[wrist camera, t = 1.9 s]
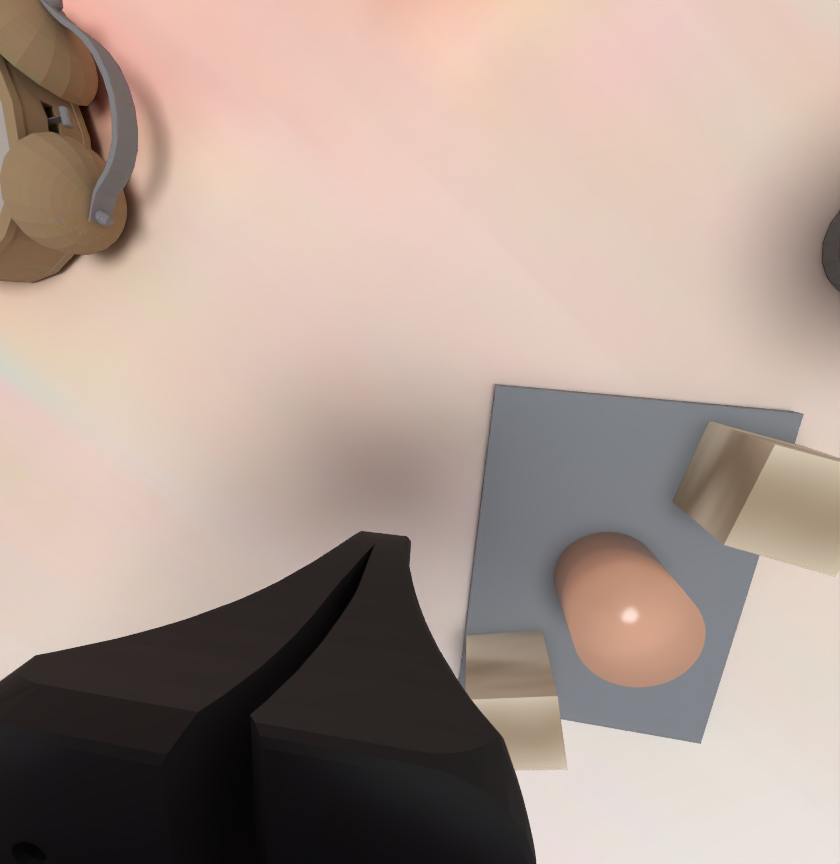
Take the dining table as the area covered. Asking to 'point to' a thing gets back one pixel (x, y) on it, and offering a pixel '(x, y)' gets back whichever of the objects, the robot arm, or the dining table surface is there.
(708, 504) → the birch cube
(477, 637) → the birch cube
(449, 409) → the dining table surface
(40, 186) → the alarm clock
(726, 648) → the slate mat
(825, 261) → the beverage cup
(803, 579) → the dining table surface
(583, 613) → the tan rounded piece
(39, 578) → the dining table surface
